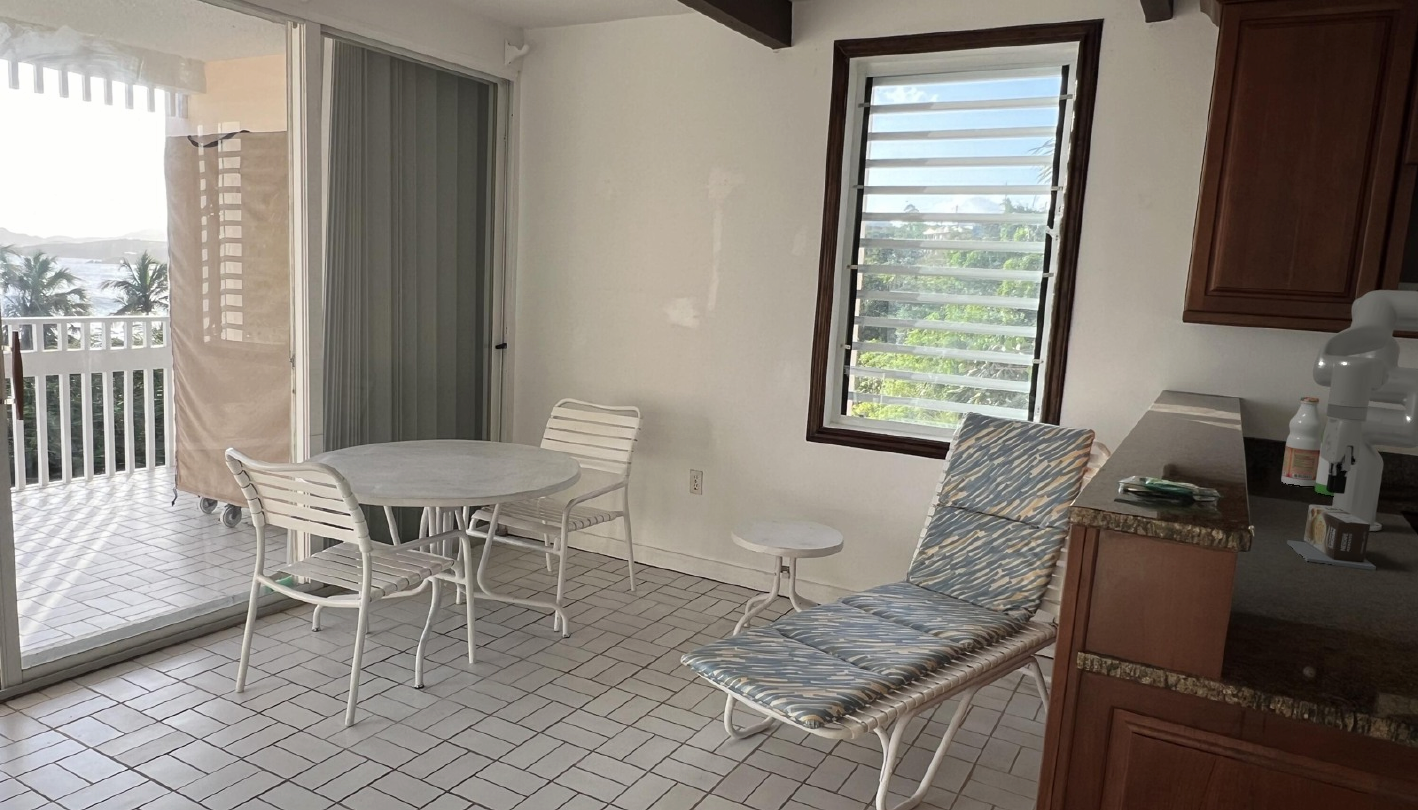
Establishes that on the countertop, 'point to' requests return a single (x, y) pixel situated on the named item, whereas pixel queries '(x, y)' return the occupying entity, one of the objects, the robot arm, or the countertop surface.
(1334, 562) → the rubber mat
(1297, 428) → the fruit juice
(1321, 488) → the wine bottle
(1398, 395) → the robot arm
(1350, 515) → the coffee box
